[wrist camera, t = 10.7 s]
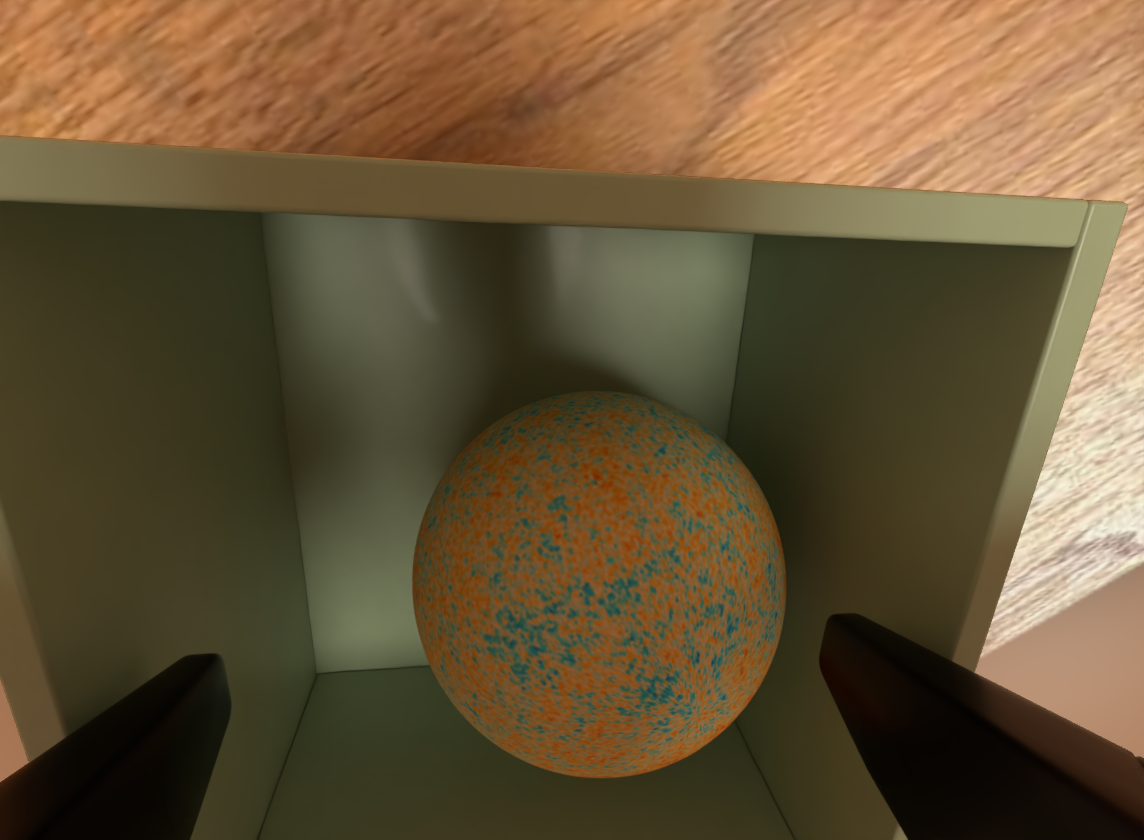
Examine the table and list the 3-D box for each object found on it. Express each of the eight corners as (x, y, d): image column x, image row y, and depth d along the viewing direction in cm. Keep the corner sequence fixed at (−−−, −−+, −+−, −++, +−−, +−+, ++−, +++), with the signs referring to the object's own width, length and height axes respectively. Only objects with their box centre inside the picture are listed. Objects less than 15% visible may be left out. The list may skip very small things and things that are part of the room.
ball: (338, 413, 12) (371, 678, 6) (639, 304, 13) (896, 426, 8) (446, 639, 15) (534, 948, 9) (675, 531, 17) (870, 734, 11)
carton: (705, 647, 18) (876, 974, 10) (305, 675, 17) (141, 1097, 9) (767, 211, 14) (1132, 201, 6) (241, 185, 12) (-195, 121, 4)
